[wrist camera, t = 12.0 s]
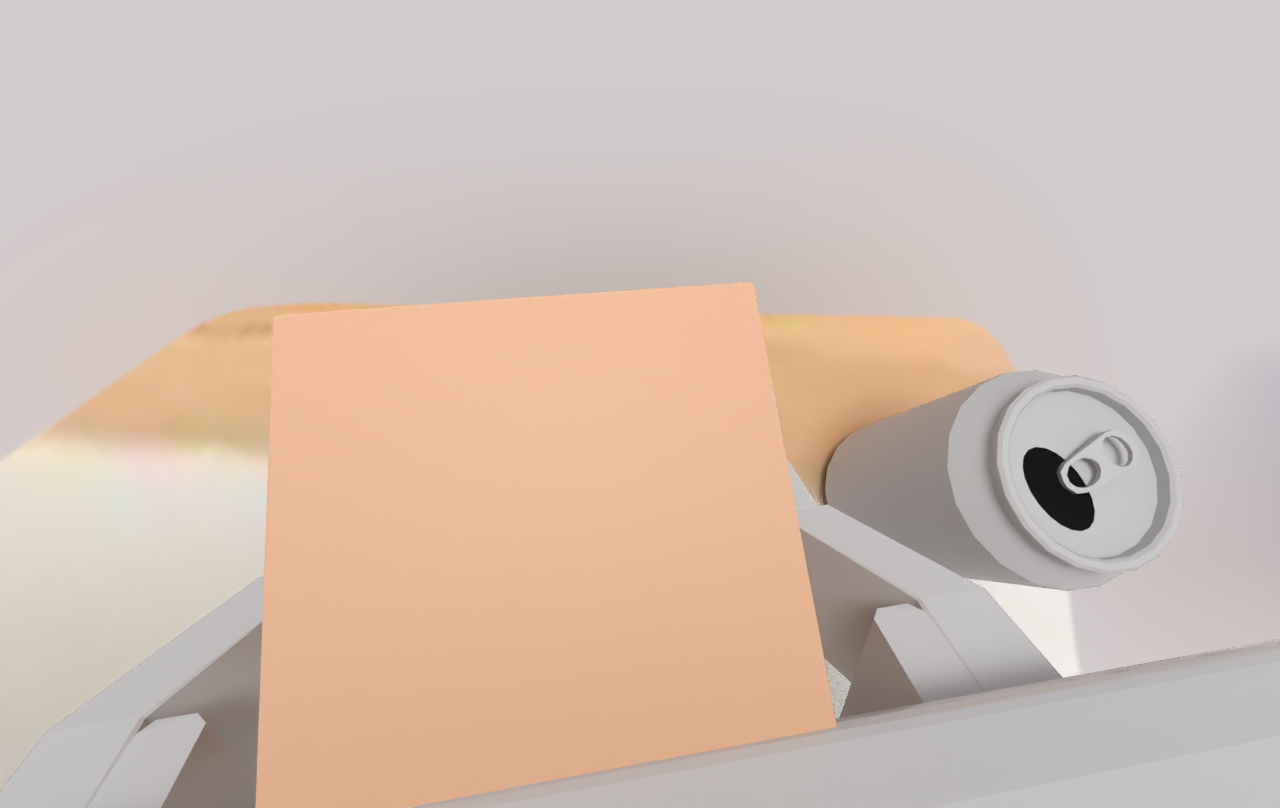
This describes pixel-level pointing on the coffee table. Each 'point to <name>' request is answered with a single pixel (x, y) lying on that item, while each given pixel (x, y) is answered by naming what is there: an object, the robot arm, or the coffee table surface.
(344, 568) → the plug
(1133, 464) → the can
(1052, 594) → the coffee table surface
